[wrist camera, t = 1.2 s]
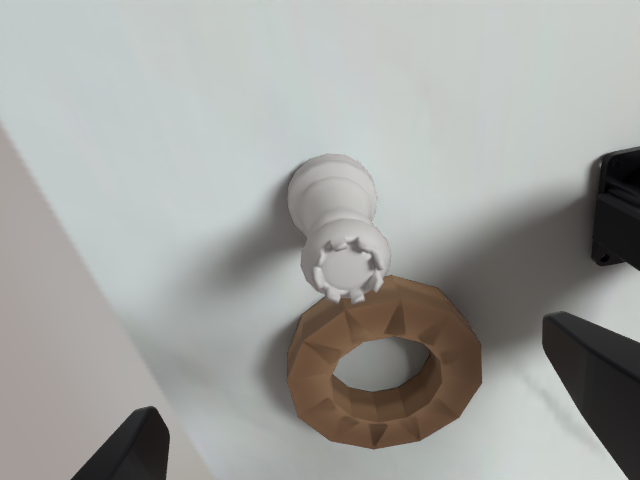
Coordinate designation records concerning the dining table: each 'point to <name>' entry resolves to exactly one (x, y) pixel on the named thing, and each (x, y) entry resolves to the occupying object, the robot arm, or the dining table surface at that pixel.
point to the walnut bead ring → (393, 404)
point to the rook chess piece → (338, 227)
